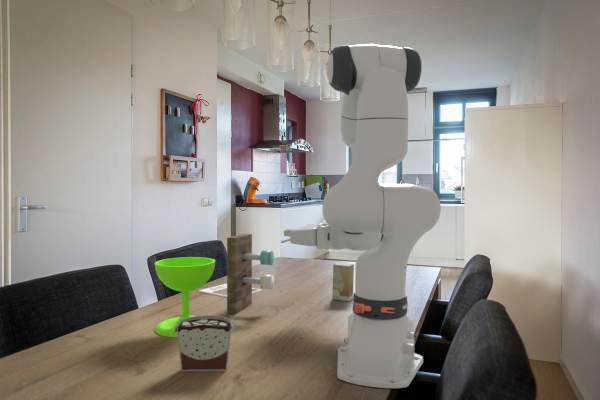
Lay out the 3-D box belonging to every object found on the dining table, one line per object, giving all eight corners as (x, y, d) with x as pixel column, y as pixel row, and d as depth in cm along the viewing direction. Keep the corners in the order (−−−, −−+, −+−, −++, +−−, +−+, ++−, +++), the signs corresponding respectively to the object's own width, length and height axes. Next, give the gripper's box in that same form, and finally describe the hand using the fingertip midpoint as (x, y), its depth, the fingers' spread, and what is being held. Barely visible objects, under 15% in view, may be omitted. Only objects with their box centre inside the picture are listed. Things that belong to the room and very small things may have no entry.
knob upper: (274, 263, 137) (274, 249, 137) (269, 266, 133) (269, 251, 132) (237, 261, 140) (237, 248, 140) (231, 264, 136) (231, 250, 136)
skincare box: (331, 299, 149) (332, 264, 149) (336, 296, 153) (337, 262, 153) (349, 301, 146) (349, 265, 146) (354, 299, 150) (354, 263, 150)
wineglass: (153, 322, 123) (153, 258, 123) (210, 316, 129) (210, 255, 129) (156, 340, 108) (155, 268, 108) (220, 333, 114) (220, 264, 114)
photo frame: (227, 283, 172) (262, 289, 162) (227, 285, 172) (262, 292, 162) (198, 289, 160) (234, 297, 150) (198, 292, 160) (234, 300, 150)
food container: (237, 359, 97) (237, 314, 97) (233, 370, 91) (233, 322, 90) (181, 359, 96) (181, 314, 96) (174, 371, 90) (173, 323, 90)
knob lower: (274, 287, 137) (274, 273, 137) (269, 290, 133) (269, 276, 133) (237, 285, 141) (237, 271, 141) (231, 287, 136) (231, 273, 136)
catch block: (251, 303, 143) (251, 234, 143) (236, 313, 132) (236, 237, 131) (243, 303, 144) (243, 233, 144) (227, 312, 133) (227, 237, 132)
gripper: (336, 220, 139) (295, 219, 143) (321, 227, 120) (273, 225, 124) (336, 240, 139) (295, 238, 143) (321, 249, 120) (273, 247, 124)
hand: (285, 232), depth 133 cm, fingers closed
